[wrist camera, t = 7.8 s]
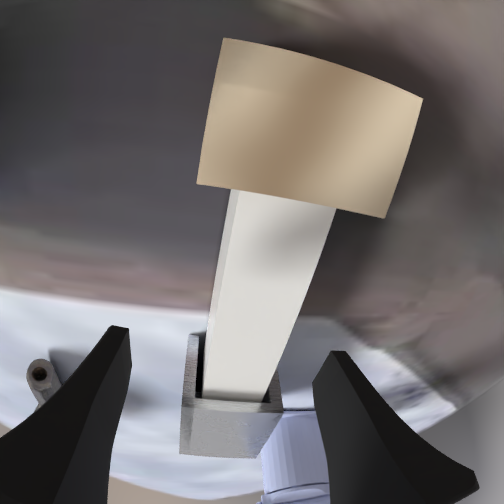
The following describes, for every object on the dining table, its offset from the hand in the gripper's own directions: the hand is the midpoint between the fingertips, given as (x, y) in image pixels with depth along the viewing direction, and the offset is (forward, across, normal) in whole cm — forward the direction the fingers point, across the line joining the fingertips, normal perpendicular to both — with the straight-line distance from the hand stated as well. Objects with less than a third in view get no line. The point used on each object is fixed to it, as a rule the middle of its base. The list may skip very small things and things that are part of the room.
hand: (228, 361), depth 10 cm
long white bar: (+9, -2, +1) cm, 10 cm away
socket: (+10, -2, -8) cm, 12 cm away
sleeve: (+10, -2, +13) cm, 16 cm away
